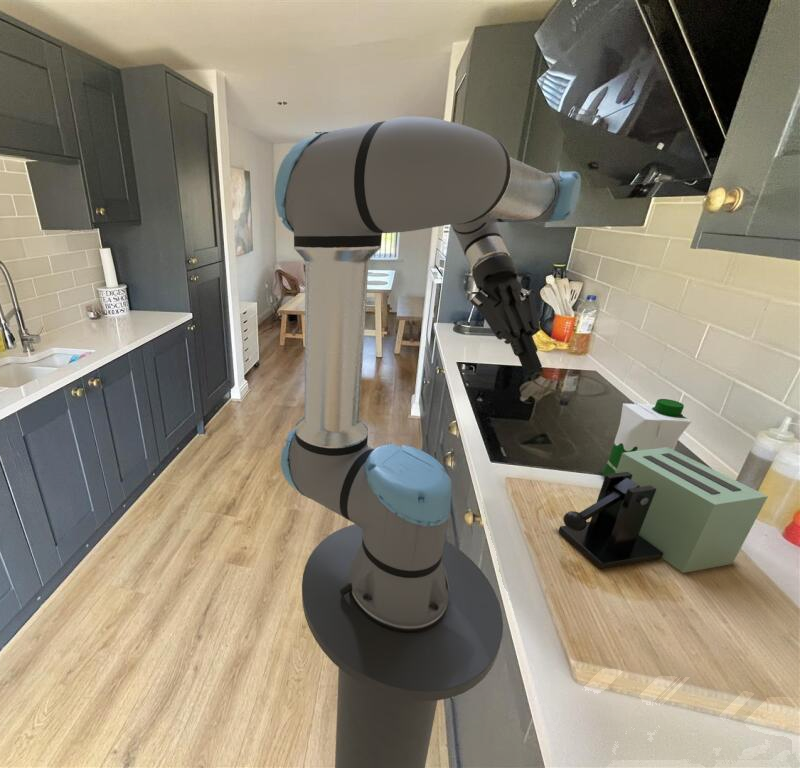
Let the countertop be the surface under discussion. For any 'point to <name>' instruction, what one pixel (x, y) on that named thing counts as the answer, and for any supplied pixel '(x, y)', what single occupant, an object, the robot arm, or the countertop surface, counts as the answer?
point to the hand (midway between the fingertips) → (533, 370)
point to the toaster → (692, 508)
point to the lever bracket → (616, 528)
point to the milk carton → (647, 429)
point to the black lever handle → (598, 506)
